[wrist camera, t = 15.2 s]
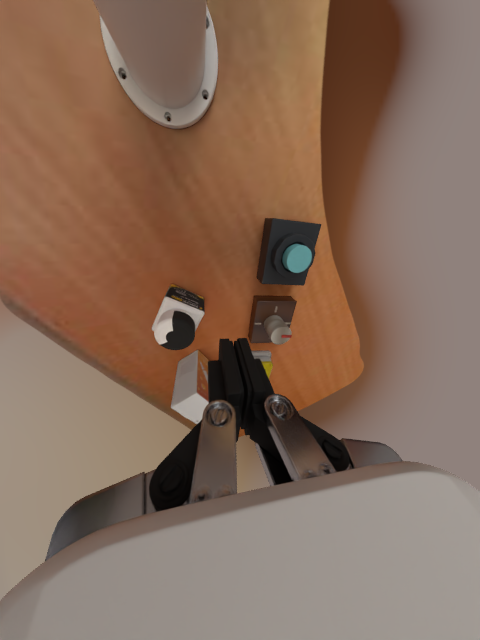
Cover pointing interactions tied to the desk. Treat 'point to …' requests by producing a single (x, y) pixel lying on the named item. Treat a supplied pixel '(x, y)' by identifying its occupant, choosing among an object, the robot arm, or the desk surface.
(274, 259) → the button housing
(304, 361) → the desk surface
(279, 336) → the dial
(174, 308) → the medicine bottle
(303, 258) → the teal button cap
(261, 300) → the rotary knob switch
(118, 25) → the robot arm
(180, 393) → the small box
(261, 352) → the emergency button
